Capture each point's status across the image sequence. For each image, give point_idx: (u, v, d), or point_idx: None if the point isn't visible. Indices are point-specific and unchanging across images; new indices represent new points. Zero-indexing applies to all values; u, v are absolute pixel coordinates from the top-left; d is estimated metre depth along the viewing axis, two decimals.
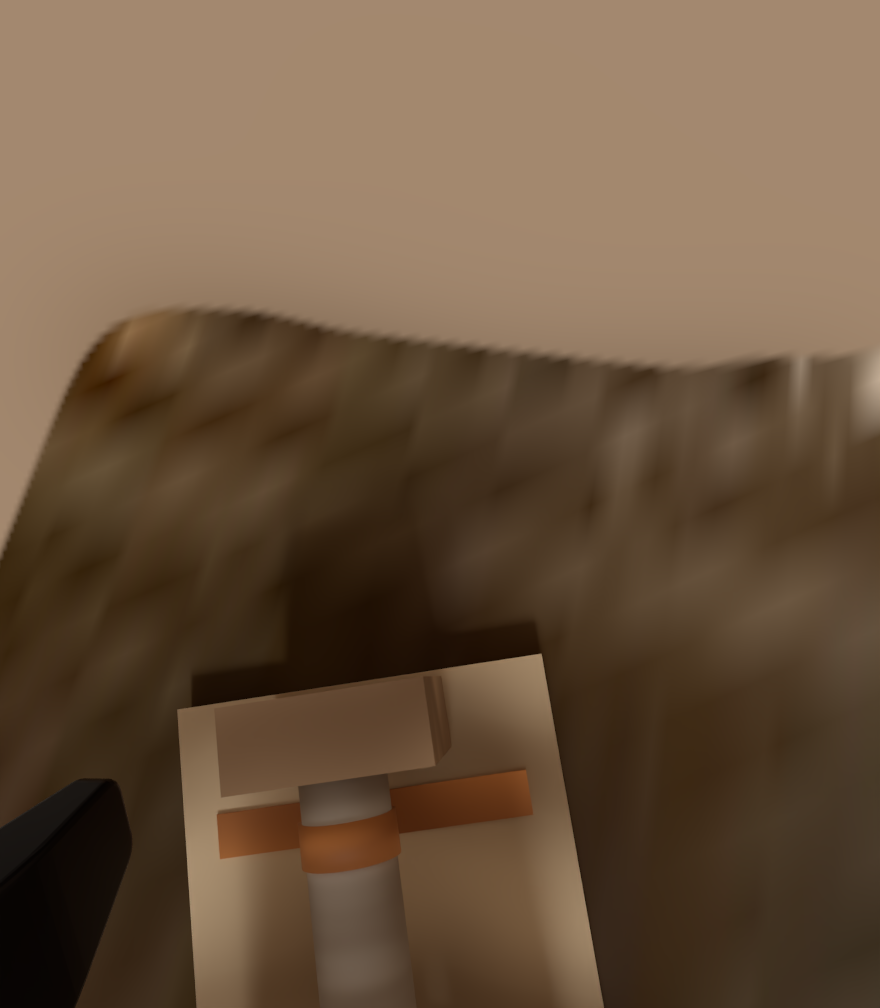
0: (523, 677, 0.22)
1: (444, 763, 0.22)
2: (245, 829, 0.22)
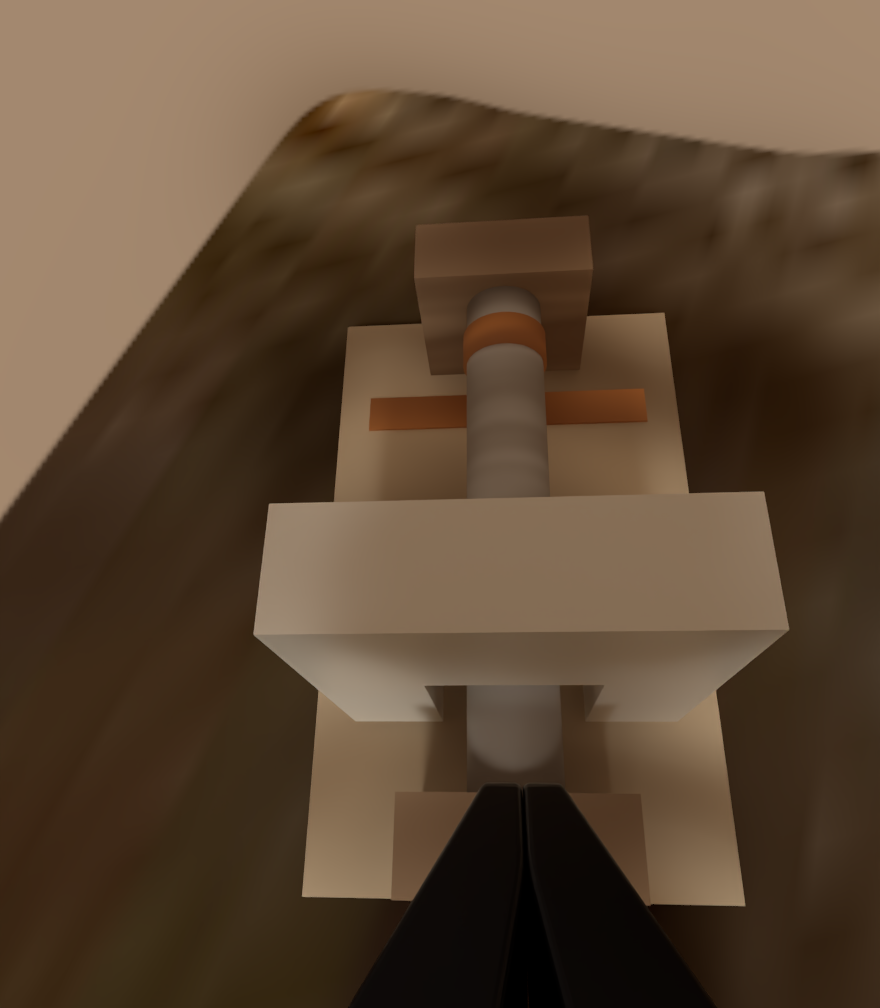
0: (647, 327, 0.26)
1: (572, 380, 0.25)
2: (393, 412, 0.25)
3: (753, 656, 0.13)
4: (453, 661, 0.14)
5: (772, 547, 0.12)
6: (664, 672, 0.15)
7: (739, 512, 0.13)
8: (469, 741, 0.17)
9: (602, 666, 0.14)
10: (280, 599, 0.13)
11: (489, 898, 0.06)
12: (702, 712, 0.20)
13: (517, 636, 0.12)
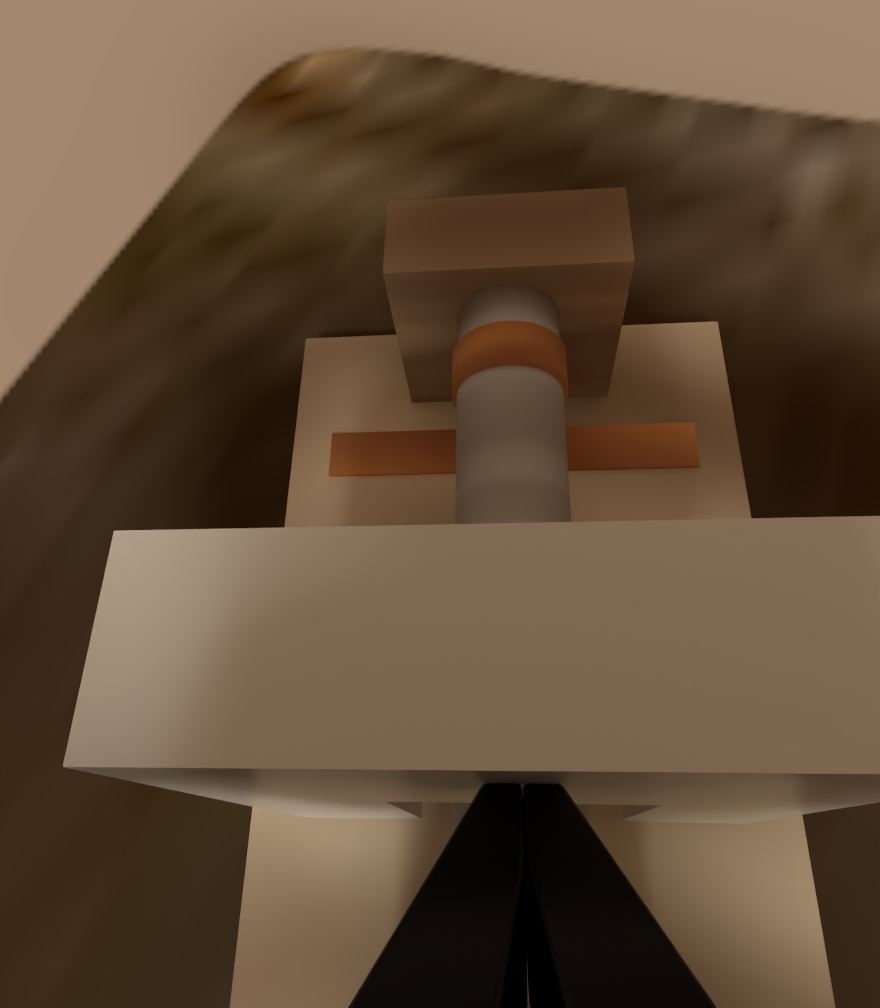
0: (696, 340, 0.20)
1: (598, 410, 0.19)
2: (362, 452, 0.19)
3: None
4: (425, 789, 0.09)
5: None
6: (763, 800, 0.09)
7: None
8: None
9: (668, 795, 0.09)
10: (116, 701, 0.07)
11: (489, 898, 0.06)
12: (792, 895, 0.14)
13: (532, 773, 0.07)
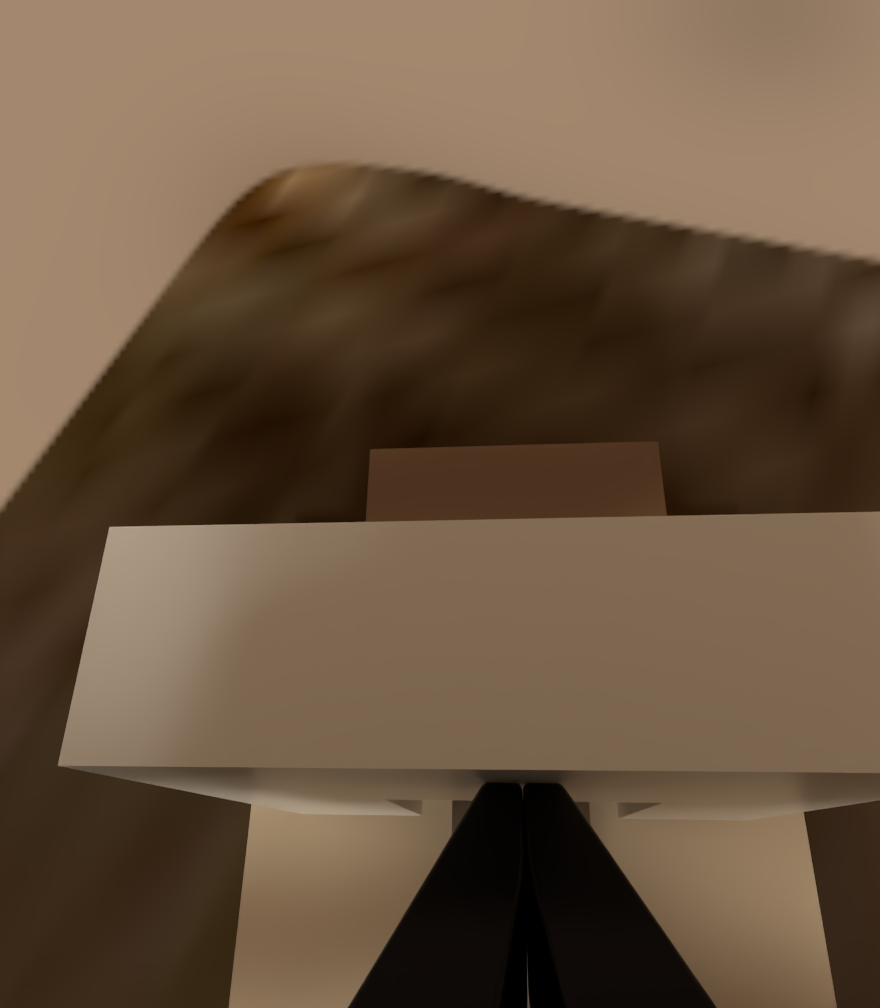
0: None
1: None
2: None
3: None
4: (424, 787, 0.09)
5: None
6: (765, 797, 0.09)
7: None
8: None
9: (669, 793, 0.09)
10: (111, 700, 0.07)
11: (489, 898, 0.06)
12: None
13: (532, 772, 0.07)
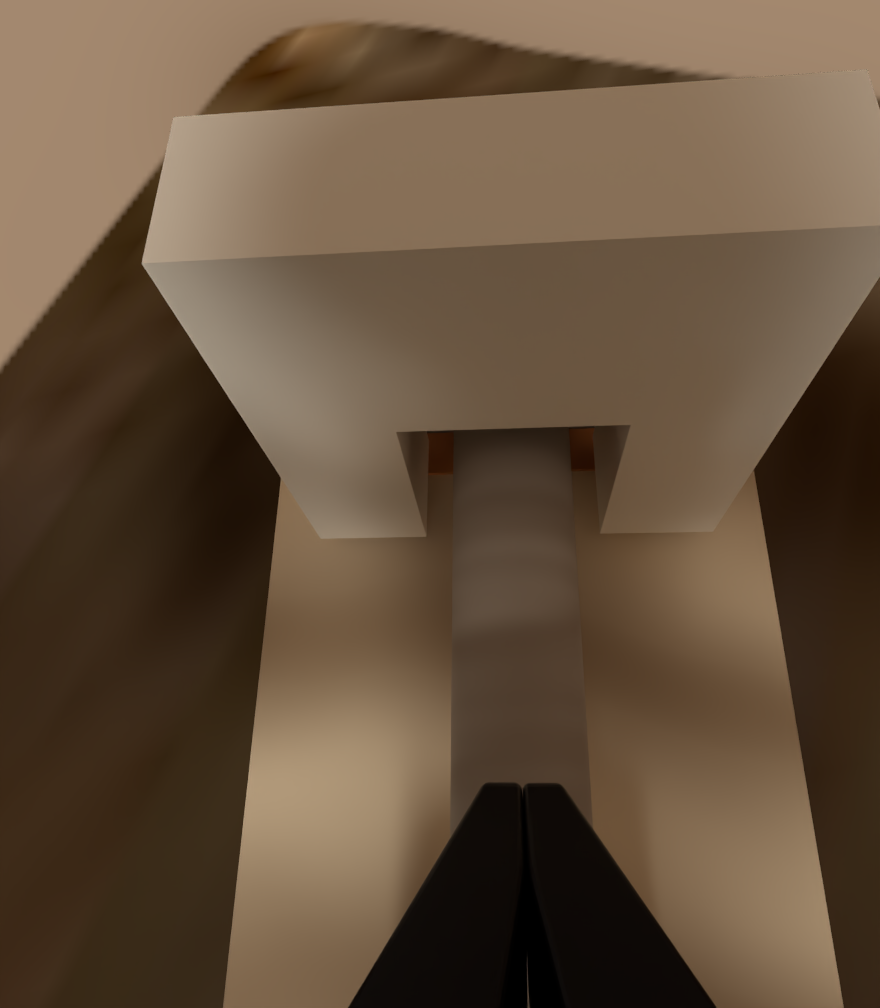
0: None
1: None
2: None
3: (843, 325, 0.10)
4: (430, 353, 0.10)
5: None
6: (713, 382, 0.11)
7: (833, 94, 0.09)
8: None
9: (632, 364, 0.11)
10: (182, 222, 0.09)
11: (489, 898, 0.06)
12: (804, 919, 0.14)
13: (517, 259, 0.09)
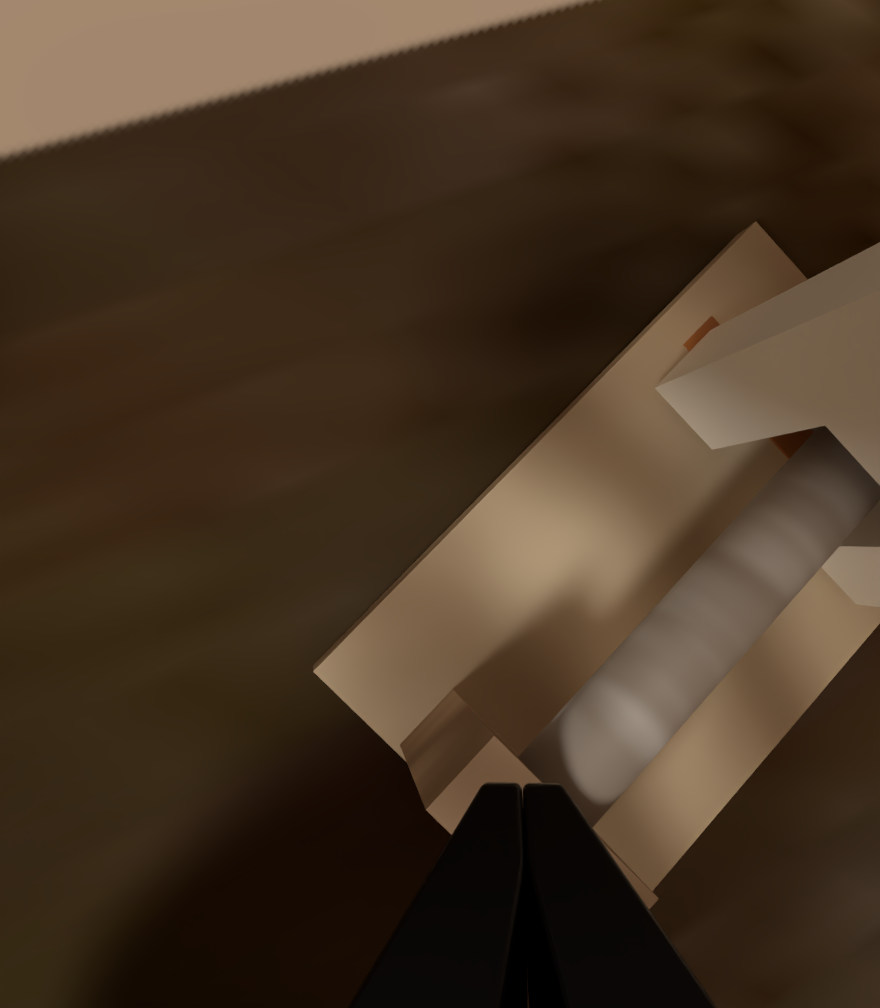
0: None
1: None
2: None
3: None
4: None
5: None
6: None
7: None
8: (563, 728, 0.17)
9: None
10: None
11: (489, 898, 0.06)
12: (700, 812, 0.21)
13: None
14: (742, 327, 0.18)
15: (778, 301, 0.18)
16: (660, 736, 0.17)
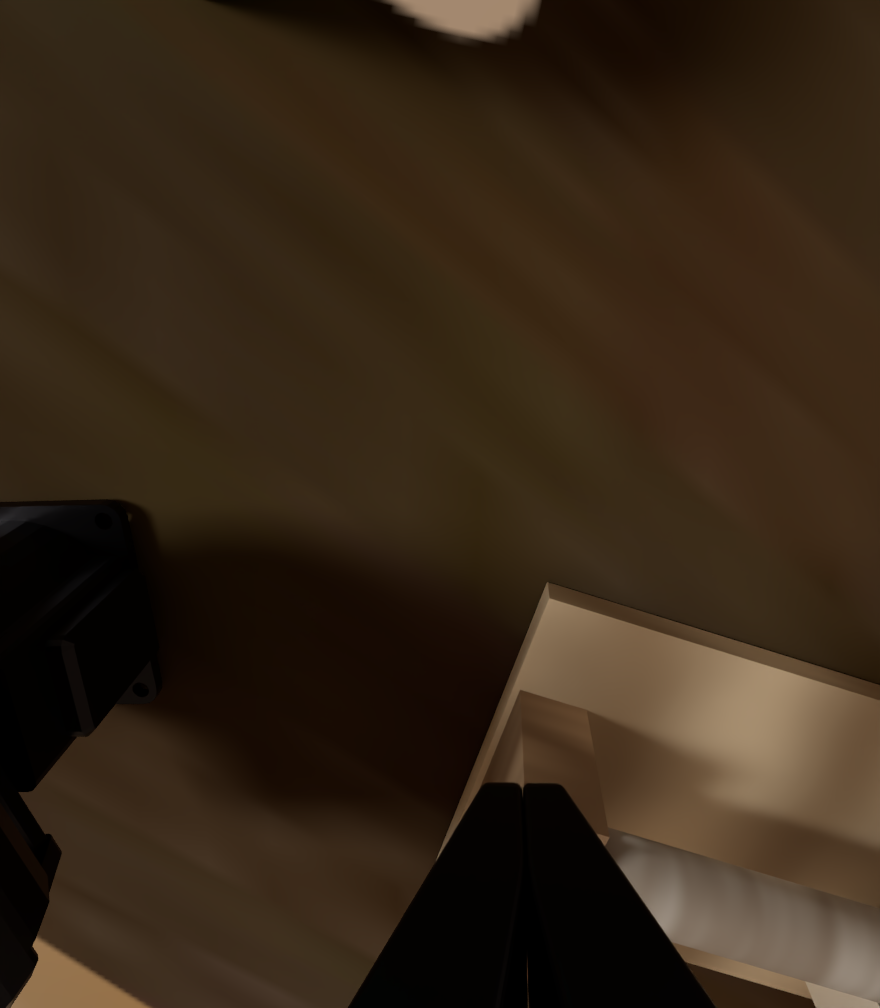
0: None
1: None
2: None
3: None
4: None
5: None
6: None
7: None
8: (625, 858, 0.19)
9: None
10: None
11: (489, 898, 0.06)
12: None
13: None
14: None
15: None
16: None
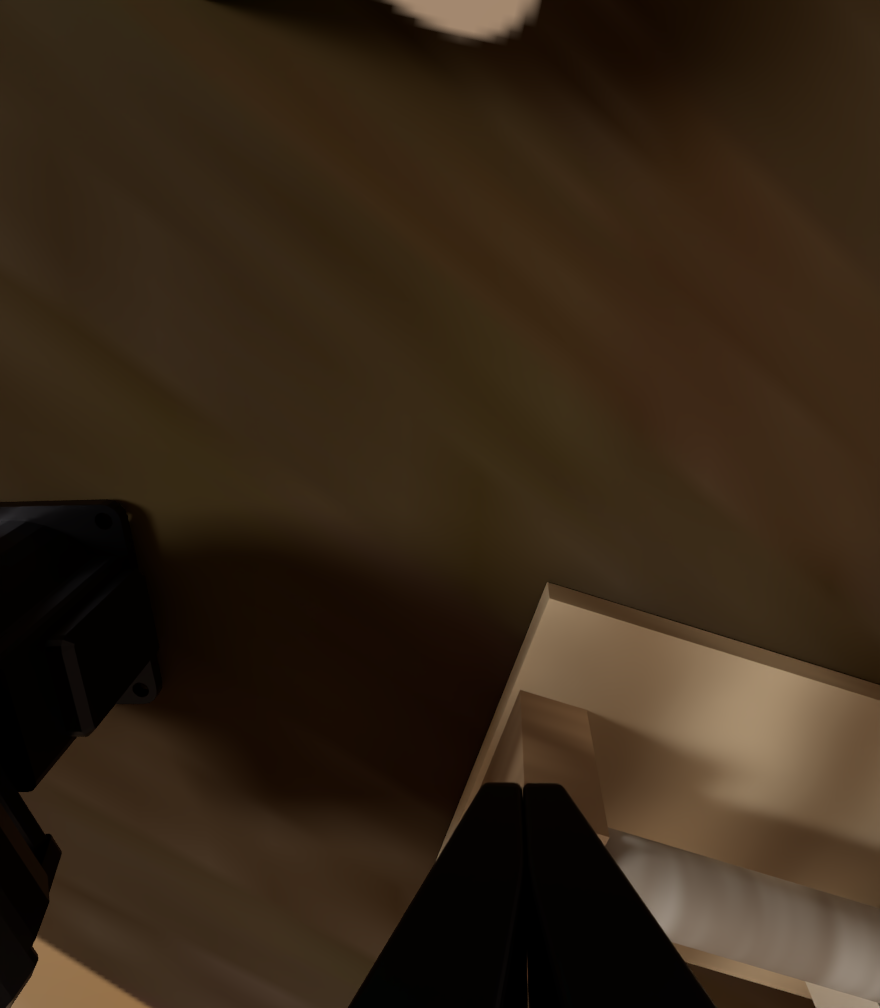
0: None
1: None
2: None
3: None
4: None
5: None
6: None
7: None
8: (625, 858, 0.19)
9: None
10: None
11: (489, 898, 0.06)
12: None
13: None
14: None
15: None
16: None
